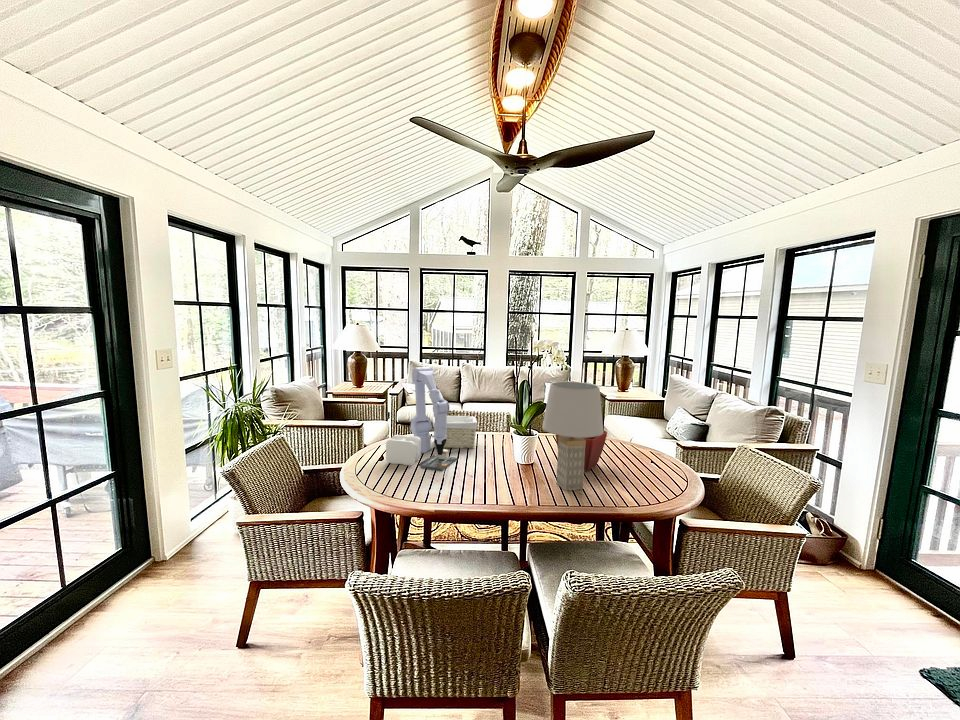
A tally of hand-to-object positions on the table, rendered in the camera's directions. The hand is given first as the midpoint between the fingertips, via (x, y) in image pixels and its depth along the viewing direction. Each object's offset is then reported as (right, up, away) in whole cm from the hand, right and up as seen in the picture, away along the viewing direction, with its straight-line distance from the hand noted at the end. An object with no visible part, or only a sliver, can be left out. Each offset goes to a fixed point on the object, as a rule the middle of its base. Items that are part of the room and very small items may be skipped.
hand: (439, 454), depth 208 cm
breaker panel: (0, -4, 0) cm, 5 cm away
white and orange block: (+1, -3, +4) cm, 5 cm away
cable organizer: (-18, -4, +2) cm, 19 cm away
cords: (-6, -4, +4) cm, 8 cm away
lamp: (+57, -9, -23) cm, 62 cm away
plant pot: (+68, -6, +4) cm, 68 cm away
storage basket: (+5, -2, +31) cm, 32 cm away
